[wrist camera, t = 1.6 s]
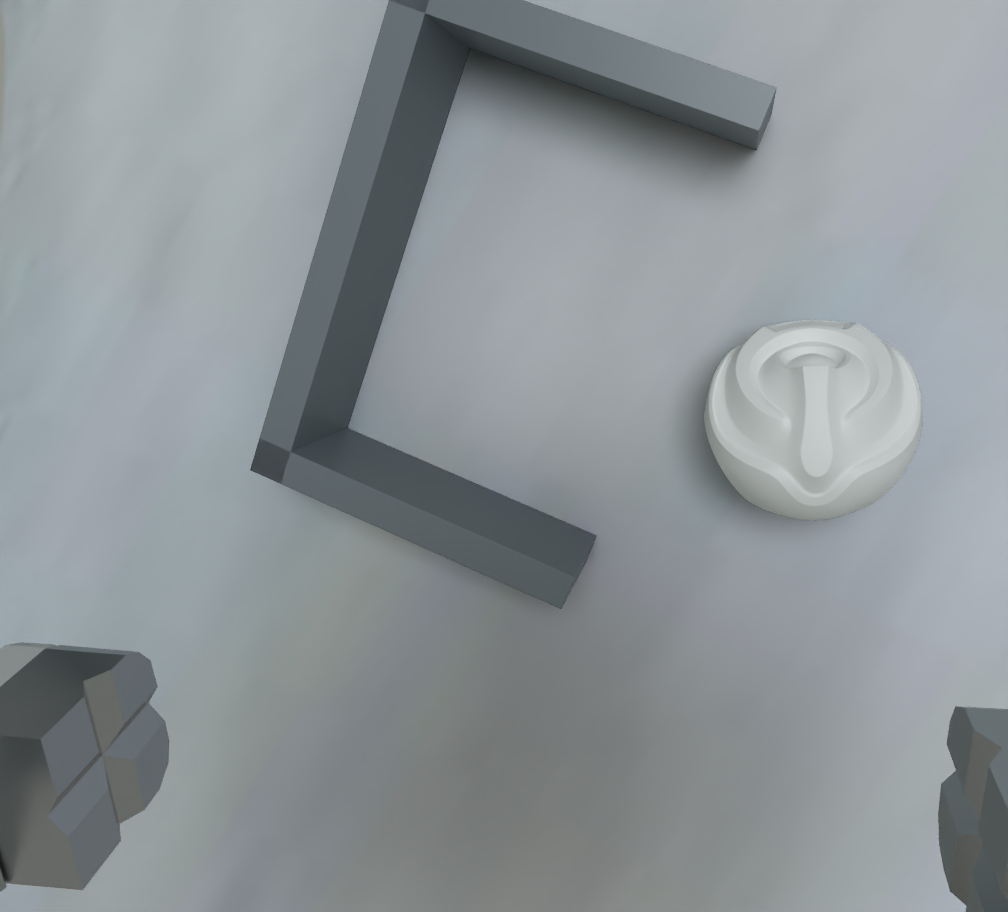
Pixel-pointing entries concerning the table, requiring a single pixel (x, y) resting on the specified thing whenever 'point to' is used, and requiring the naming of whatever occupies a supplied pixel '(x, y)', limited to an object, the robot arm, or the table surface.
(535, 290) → the table surface
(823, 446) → the white swirled ball
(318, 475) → the box
